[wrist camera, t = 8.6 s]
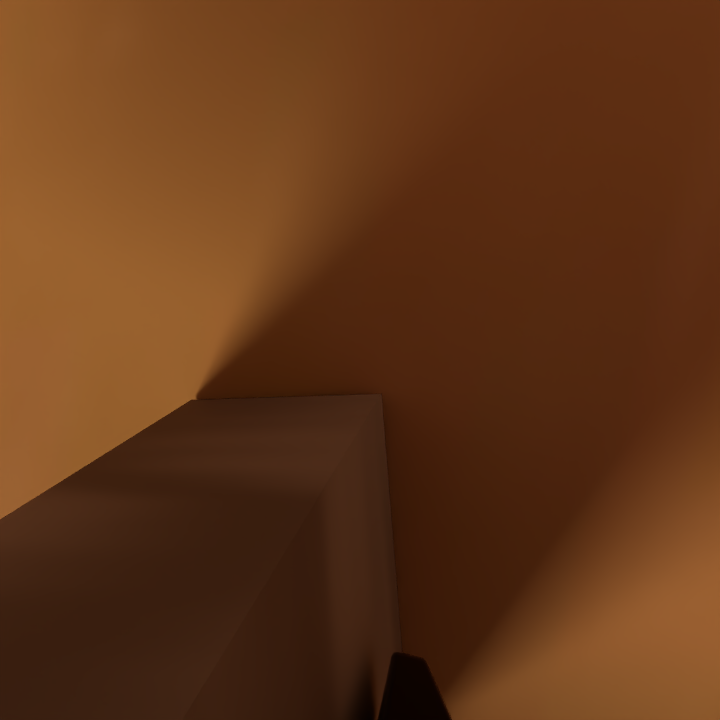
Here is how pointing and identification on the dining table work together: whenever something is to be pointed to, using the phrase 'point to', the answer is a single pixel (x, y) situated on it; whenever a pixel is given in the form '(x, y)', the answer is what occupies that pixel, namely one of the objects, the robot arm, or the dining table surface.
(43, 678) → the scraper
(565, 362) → the dining table surface
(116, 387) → the dining table surface
